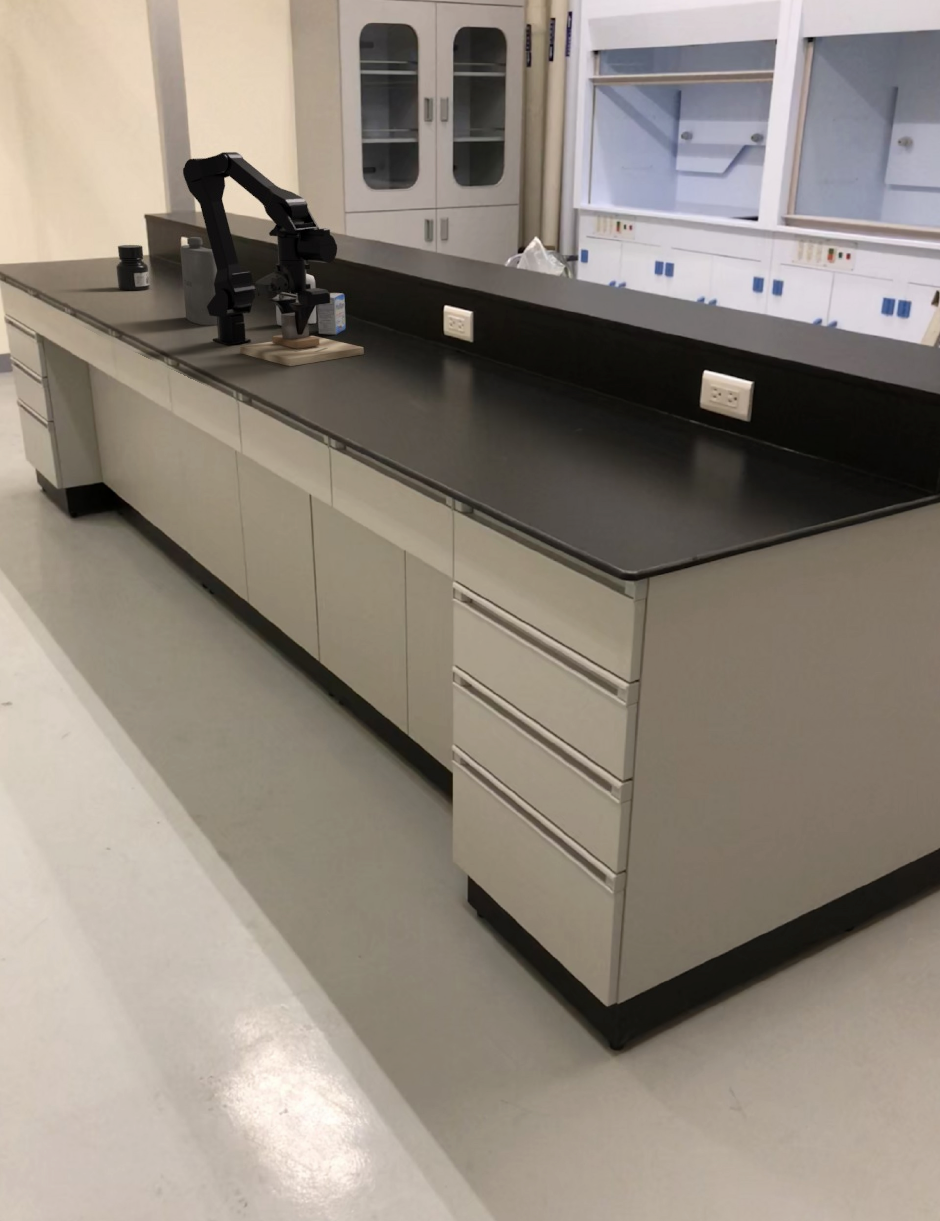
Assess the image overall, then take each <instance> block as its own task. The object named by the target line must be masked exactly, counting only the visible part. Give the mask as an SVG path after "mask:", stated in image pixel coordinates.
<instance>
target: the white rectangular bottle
mask: <svg viewBox="0 0 940 1221" xmlns="http://www.w3.org/2000/svg"><path fill="white" fill-rule="evenodd" d="M306 283H307V284H311V289H312V288H316V280H315V277H314V275H311V274H308V273H306ZM290 293H291V292H290ZM296 294H297V293H296ZM275 311H276V314H275V317H276V324H277V326H281V327H282V324H281V312H280V309H279V307H278V306H276V305H275ZM316 323H317V305H316V306H315V308H314V310H313V312H312V313H311V315H310V318H309V320H308V325H309V324H312V325H313V324H316Z"/></svg>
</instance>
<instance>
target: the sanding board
mask: <svg viewBox="0 0 940 1221" xmlns="http://www.w3.org/2000/svg"><path fill="white" fill-rule="evenodd" d="M309 336H310V337H315V338H319V346H312V347H306V348H299V349H296V348H292V347H288V346H283V345H279V344H275V343H273V342H272V341H268V342H267V341H266V342H260V343H252V344H246V345H239V353H240V354H243V355H245V356H250V357H253V358H257V359H261V360H265V361H269V362H273V363H275V364H281V365H283V366H287V367H294V366H299V365H306V364H312V363H313V364H314V363H318V362H323V361H324V362H325V361H331V360H337V359H343V358H348V357H355V356H361V355H364V353H365V352H364V350H365V349H364V347H363V346H359V345H354V344H351V343H346V342H342V341H338V340H334V339H328V338H324V337H321V336H315V335H309Z"/></svg>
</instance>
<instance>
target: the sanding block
mask: <svg viewBox="0 0 940 1221" xmlns="http://www.w3.org/2000/svg"><path fill="white" fill-rule="evenodd" d="M281 324H282V326H281V334H278V335H273V336H271V339H272V341H271V342H273V343H275V344H279V345H283V346H288V347H292V348H296V349H299V348H306V347H312V346H319V338H315V337H310V336H311V335H310V332H309V329H310V328H309V324H308V322H307V325H306V327H305V329H304V332H303V334H302V335H298V334H297V329H296V321H295V313H288V314H281Z"/></svg>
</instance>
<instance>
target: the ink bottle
mask: <svg viewBox="0 0 940 1221" xmlns="http://www.w3.org/2000/svg"><path fill="white" fill-rule="evenodd" d="M117 250H118V251H117V252H118V253H117V254H118V258H119V262H118V263H117V265H116V266H115V267H116V277H117V286H118V289H119V290H122V291H145V290H148V289H150V288H151V287H150V286H151V285H150V275H149V274H150V273H149V266H148V265H147V263H145V262H144V261H143V260H144V249H143V245H139V244H138V245H137V244H123V245H118V246H117Z"/></svg>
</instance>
